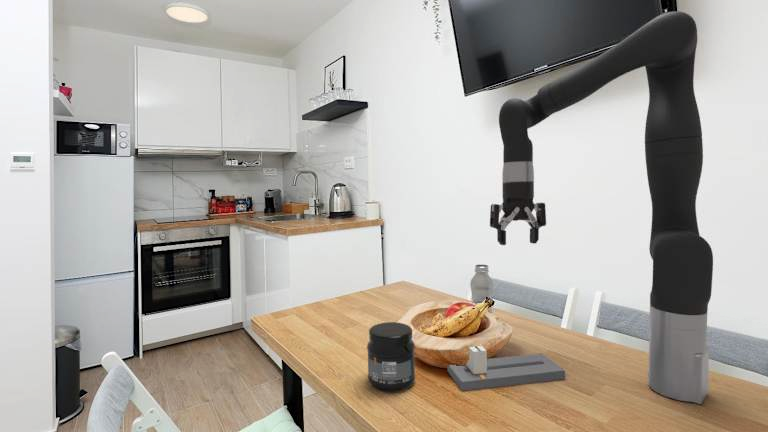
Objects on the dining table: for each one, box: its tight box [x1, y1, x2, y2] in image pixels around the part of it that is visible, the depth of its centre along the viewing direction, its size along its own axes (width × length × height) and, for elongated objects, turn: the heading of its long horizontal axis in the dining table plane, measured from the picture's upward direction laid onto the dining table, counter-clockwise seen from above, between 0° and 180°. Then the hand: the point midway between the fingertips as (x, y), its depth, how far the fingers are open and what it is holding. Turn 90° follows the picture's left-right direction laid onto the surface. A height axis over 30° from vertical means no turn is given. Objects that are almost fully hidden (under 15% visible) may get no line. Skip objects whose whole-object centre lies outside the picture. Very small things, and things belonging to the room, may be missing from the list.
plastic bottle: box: [469, 264, 494, 315], centre depth 111 cm, size 6×7×20 cm
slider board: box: [447, 352, 566, 392], centre depth 86 cm, size 24×9×2 cm, turn 100°
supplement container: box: [366, 321, 416, 393], centre depth 84 cm, size 10×10×12 cm
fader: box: [466, 345, 488, 374], centre depth 84 cm, size 3×5×5 cm, turn 10°
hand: (518, 243), depth 97 cm, fingers open, 8 cm apart
